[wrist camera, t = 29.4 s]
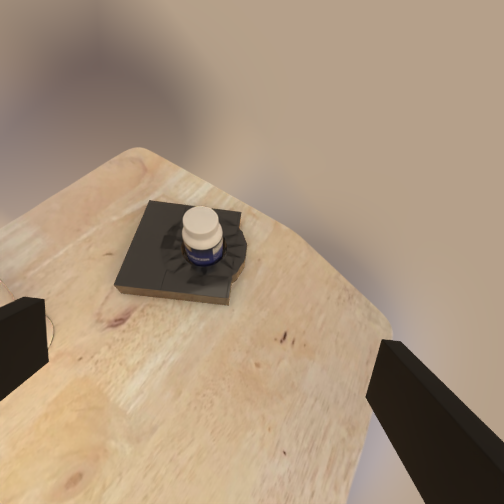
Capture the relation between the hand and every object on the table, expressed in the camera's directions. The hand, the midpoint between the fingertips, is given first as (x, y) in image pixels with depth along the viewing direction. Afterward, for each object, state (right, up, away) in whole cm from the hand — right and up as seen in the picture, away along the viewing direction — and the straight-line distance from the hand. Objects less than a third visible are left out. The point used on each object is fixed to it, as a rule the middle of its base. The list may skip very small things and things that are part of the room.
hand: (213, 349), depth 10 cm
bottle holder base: (-9, +4, +31) cm, 32 cm away
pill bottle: (-6, +3, +31) cm, 32 cm away
